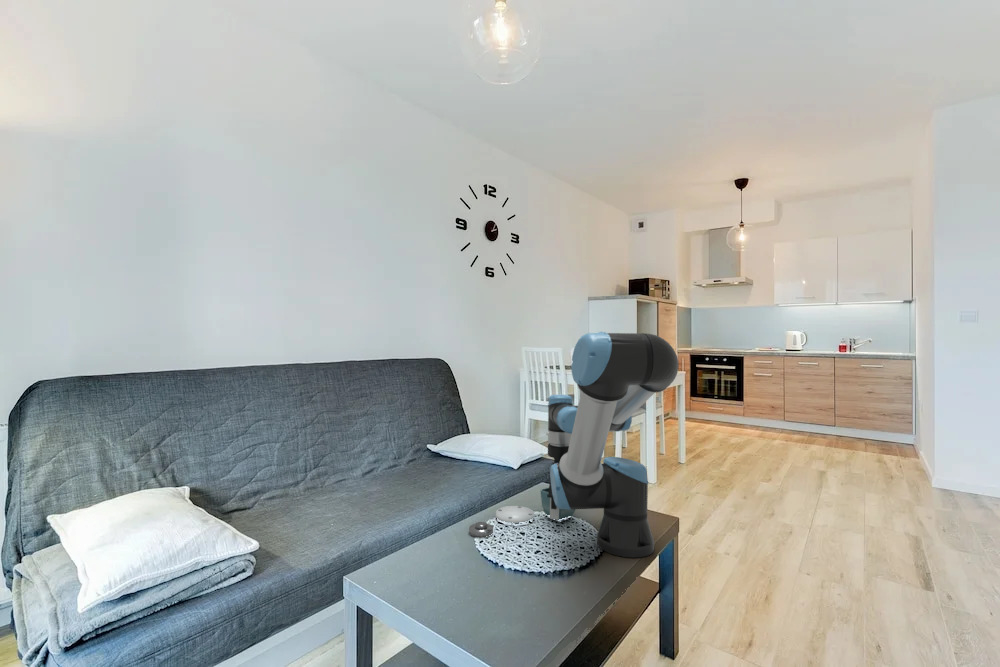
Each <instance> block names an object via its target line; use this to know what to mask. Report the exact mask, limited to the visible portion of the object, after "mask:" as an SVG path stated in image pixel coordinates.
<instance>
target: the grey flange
mask: <svg viewBox="0 0 1000 667" xmlns="http://www.w3.org/2000/svg"><path fill="white" fill-rule="evenodd" d="M533 517H534V518H535V512H534V511H533V509H531V508H528V507H526V506H520V505H506V506H502V507H499V508H497V510H496V511H495V519H496V518H498V519H499V520H501V521H505V522H511V523H512V522H513V523H518V522H525V521H528V520H530V519H532V518H533Z"/></svg>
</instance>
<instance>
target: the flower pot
mask: <svg viewBox="0 0 1000 667" xmlns="http://www.w3.org/2000/svg"><path fill="white" fill-rule="evenodd" d="M539 492H540V500H541V506H542V509H543V512H544V514H545V515H546V514H547V515H550V497H547V494H549V487H546V488H541V489H540V491H539ZM575 510H576V509H573V510H569V509H559V519H562V518H565V517H568V516H572V517H573V515H574V514H575V512H576V511H575Z"/></svg>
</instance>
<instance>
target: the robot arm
mask: <svg viewBox="0 0 1000 667" xmlns="http://www.w3.org/2000/svg"><path fill="white" fill-rule="evenodd" d="M571 357H572V358H571V376H572V378H573V381H574V382H575V383H576V385H577V389H578V390H579V391H580V395H579V399H578V400H579V401H578V404H577V405H573V404H574V403H573V397H572V396H571V395H567V394H551V395H549V397H548V402H547V408H548V410H547V412H548V413H547V418H548V419H547V421H548V424H547V425H548V426H547V427H548V428H547V432H546V436H548V437H547V442H548V444H547V456H549V458H553V462H552V463H551V464H550V468H549V477H550V478H549V487H548V488H549V494H547V497H550V520H552V519H555V520H559V509H569V510H573V509H575V510H591V509H592V510H593V509H603V515H602V518H601V522H600V525H599V528H598V530H597V532H596V544H597V546H598V545H599V546H598V548H600V549H601V550H602V551H604V552H607V553H608V554H611V555H614V556H617V557H618V556H619V557H624V558H644V557H647V556H650V555H652V554H653V553H654V552H655V539H654V536H653V534H652V531H651V526H650V524H649V520H648V498H649V497H648V493H649V492H648V491H649V490H648V488H649V486H648V485H649V478H648V469H647V468H646V466H645V465H644V464H642V463H640V462H638V461H637V460H633V459H630V458H629V459H628V458H624V457H619V456H606V457H604V459H603V454H604V451H605V447H606V443H607V439H608V437H609V432H616V433H617V432H623V431H628V430H629V429H630V428H631V425H632V420H633V419H632V418H633V414H634V413H636V412H637V411H638V410H639V409H640V408H642V406H643V405H644V404H645V403H646V402H647V401H648V400H650V398H652V396H654V395H655V393H661V392H664V391H665V390H667V389H668V388H669V386H670V385H671V384H672V383H673V382H674V381H675V379H676V377H677V374H678V372H679V359H678V355H677V352H676V350H675V349H674V348H673V346H672V345H671V344H670V343H669V342H668V341H667V340H665V339H664V338H662V337H661V336H659V335H657V334H653V333H647V332H646V333H645V332H644V333H643V332H642V333H632V332H631V333H630V332H623V333H622V332H619V333H618V332H606V331H599V332H588V333H585V334H583V335H582V336H580V337H579V339H578V340H577V342H576V344H575V345H574V349H573V352H572V356H571ZM602 459H603V461H602ZM601 461H602V462H603V463H602V462H601Z"/></svg>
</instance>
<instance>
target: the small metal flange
mask: <svg viewBox="0 0 1000 667" xmlns="http://www.w3.org/2000/svg"><path fill="white" fill-rule="evenodd" d="M492 533H493V534H494V526H493V525H491V524H489V523H488V522H484V521H477V522H475V523H473V524H471V525H469V527H468V535H469V536H471V537H473V538H476V537H486V536H489V535H491V534H492ZM491 536H492V535H491ZM489 537H490V536H489ZM486 538H487V537H486Z"/></svg>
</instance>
